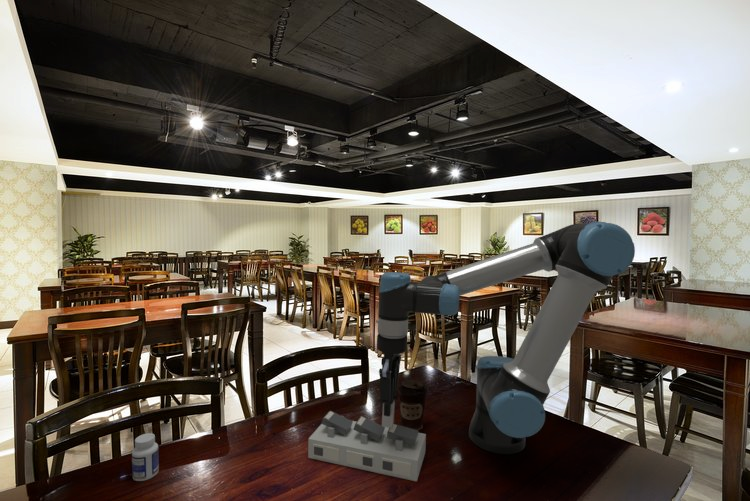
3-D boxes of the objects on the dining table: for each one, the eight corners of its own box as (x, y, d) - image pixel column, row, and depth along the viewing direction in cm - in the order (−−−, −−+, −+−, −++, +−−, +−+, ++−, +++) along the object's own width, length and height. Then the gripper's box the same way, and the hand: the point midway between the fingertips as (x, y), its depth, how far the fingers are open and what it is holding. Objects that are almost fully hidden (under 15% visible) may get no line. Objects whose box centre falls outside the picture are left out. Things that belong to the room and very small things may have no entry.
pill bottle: (153, 464, 91) (153, 429, 90) (162, 473, 87) (162, 436, 87) (128, 475, 86) (128, 438, 86) (137, 485, 83) (136, 446, 83)
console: (425, 452, 97) (426, 425, 97) (416, 482, 85) (417, 452, 85) (327, 433, 106) (328, 408, 105) (307, 458, 94) (307, 431, 93)
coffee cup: (425, 435, 105) (426, 391, 105) (396, 432, 107) (397, 388, 106) (427, 420, 114) (428, 379, 113) (400, 417, 116) (401, 376, 115)
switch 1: (350, 429, 100) (353, 420, 99) (343, 439, 95) (346, 429, 95) (327, 418, 102) (330, 409, 101) (319, 427, 97) (322, 418, 96)
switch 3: (417, 439, 94) (418, 429, 94) (413, 450, 89) (414, 439, 89) (391, 431, 96) (392, 422, 96) (385, 442, 91) (387, 432, 91)
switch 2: (382, 435, 97) (385, 426, 97) (377, 445, 92) (380, 436, 92) (358, 423, 99) (361, 414, 99) (352, 433, 94) (354, 424, 94)
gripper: (385, 326, 100) (380, 411, 101) (370, 339, 87) (365, 436, 89) (412, 329, 98) (407, 416, 99) (400, 343, 85) (395, 442, 86)
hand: (387, 425), depth 94 cm, fingers closed
